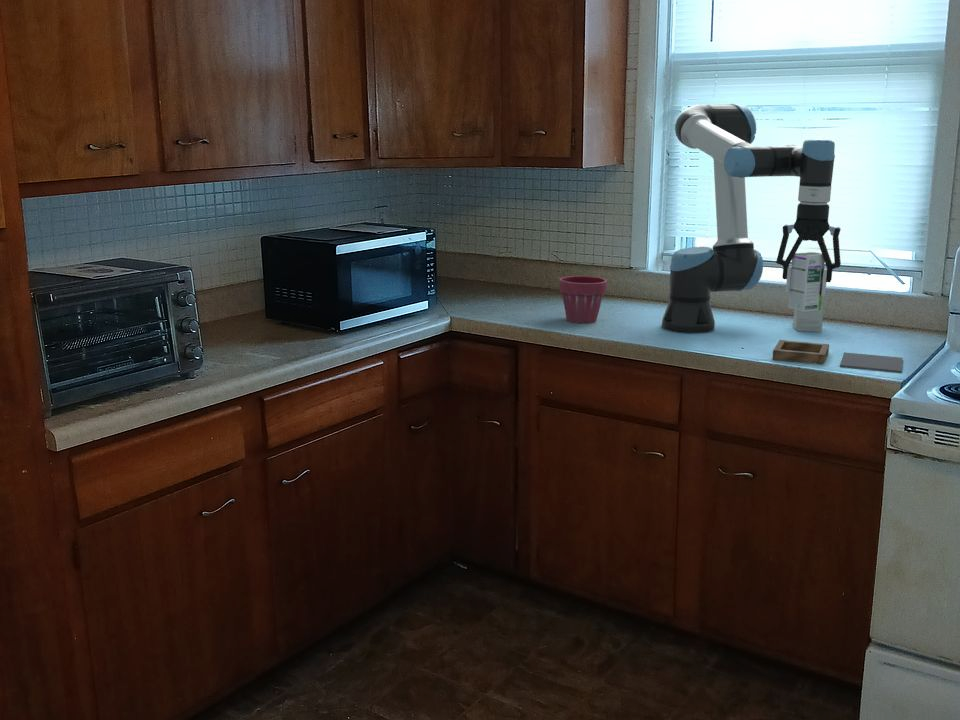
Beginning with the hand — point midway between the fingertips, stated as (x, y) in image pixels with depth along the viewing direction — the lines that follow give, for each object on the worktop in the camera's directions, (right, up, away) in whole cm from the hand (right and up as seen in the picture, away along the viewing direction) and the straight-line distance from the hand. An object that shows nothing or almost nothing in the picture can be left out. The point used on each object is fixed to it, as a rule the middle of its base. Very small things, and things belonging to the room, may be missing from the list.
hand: (805, 293), depth 240 cm
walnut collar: (0, -16, +4) cm, 17 cm away
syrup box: (0, -4, +1) cm, 5 cm away
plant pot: (-52, -5, +48) cm, 71 cm away
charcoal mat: (+16, -18, -3) cm, 24 cm away
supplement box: (+13, -8, +36) cm, 39 cm away
